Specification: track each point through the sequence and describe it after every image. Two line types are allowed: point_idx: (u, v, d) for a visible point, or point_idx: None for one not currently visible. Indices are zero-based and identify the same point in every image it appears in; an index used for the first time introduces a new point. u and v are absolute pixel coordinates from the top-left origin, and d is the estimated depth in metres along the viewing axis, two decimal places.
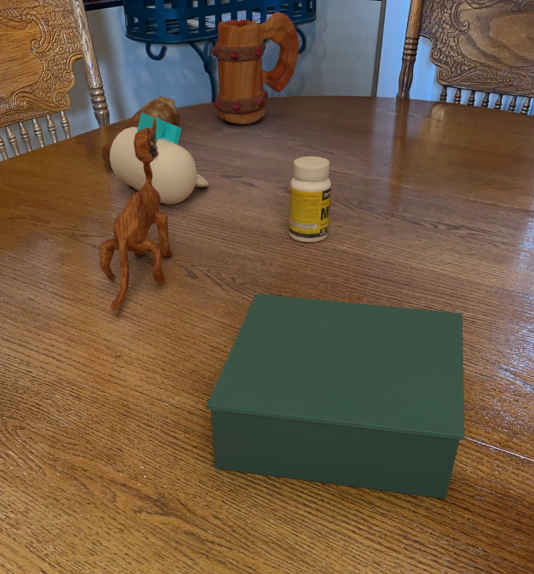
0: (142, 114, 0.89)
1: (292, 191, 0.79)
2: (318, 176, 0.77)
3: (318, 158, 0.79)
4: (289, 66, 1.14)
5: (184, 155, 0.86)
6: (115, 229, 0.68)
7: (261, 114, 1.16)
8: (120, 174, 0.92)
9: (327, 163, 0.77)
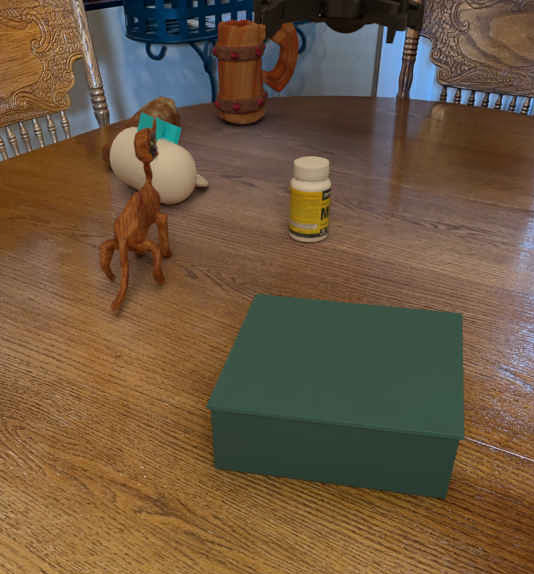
0: (142, 114, 0.89)
1: (292, 191, 0.79)
2: (319, 176, 0.77)
3: (318, 158, 0.79)
4: (289, 66, 1.14)
5: (184, 155, 0.86)
6: (115, 229, 0.68)
7: (261, 114, 1.16)
8: (120, 174, 0.92)
9: (327, 163, 0.77)
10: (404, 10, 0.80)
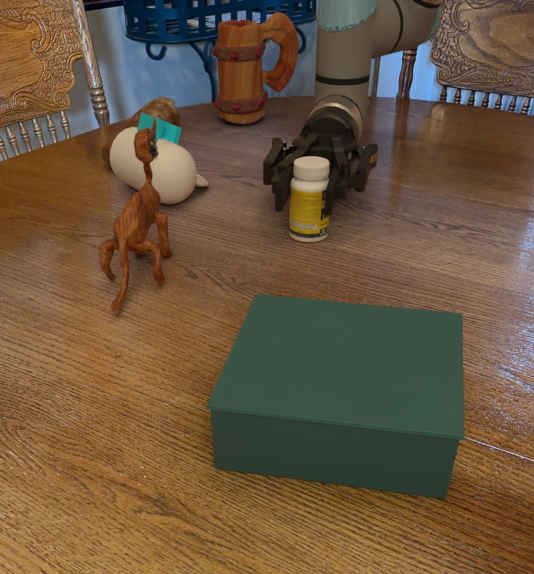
0: (142, 114, 0.89)
1: (291, 191, 0.79)
2: (318, 176, 0.77)
3: (318, 158, 0.79)
4: (289, 66, 1.14)
5: (184, 155, 0.86)
6: (115, 229, 0.68)
7: (261, 114, 1.16)
8: (120, 174, 0.92)
9: (327, 163, 0.77)
10: (343, 174, 0.79)
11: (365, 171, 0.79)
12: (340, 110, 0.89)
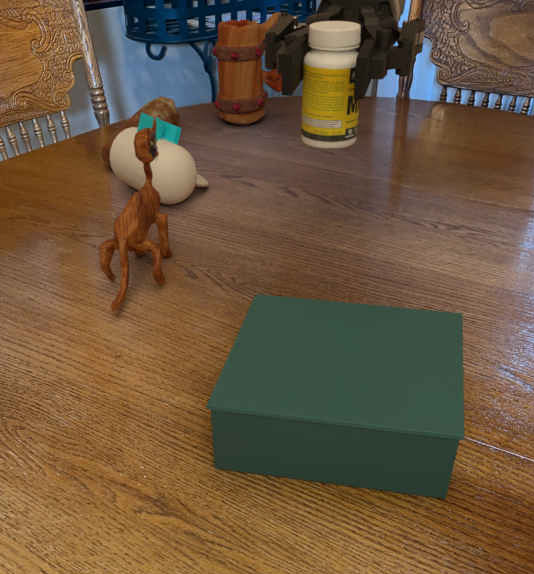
0: (142, 114, 0.89)
1: (306, 71, 0.55)
2: (345, 44, 0.53)
3: (344, 22, 0.54)
4: None
5: (184, 155, 0.86)
6: (115, 229, 0.68)
7: (261, 114, 1.16)
8: (120, 174, 0.92)
9: (358, 26, 0.53)
10: (380, 47, 0.55)
11: (412, 43, 0.55)
12: None
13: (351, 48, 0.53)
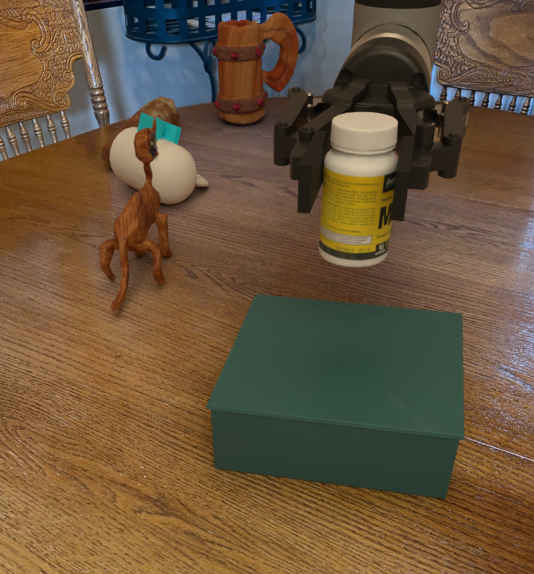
0: (142, 114, 0.89)
1: (327, 176, 0.43)
2: (379, 146, 0.41)
3: (376, 115, 0.43)
4: (289, 66, 1.14)
5: (184, 155, 0.86)
6: (115, 229, 0.68)
7: (261, 114, 1.16)
8: (120, 174, 0.92)
9: (394, 123, 0.41)
10: (420, 146, 0.43)
11: (461, 140, 0.44)
12: (402, 43, 0.53)
13: (386, 151, 0.42)
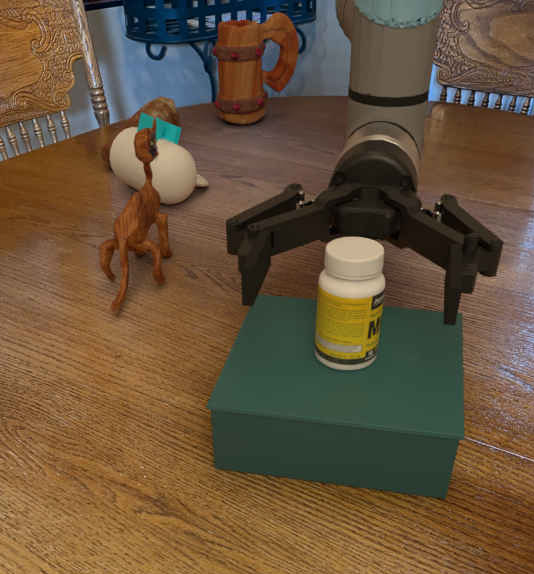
0: (142, 114, 0.89)
1: (321, 295, 0.48)
2: (367, 273, 0.46)
3: (365, 241, 0.48)
4: (289, 66, 1.14)
5: (184, 155, 0.86)
6: (115, 229, 0.68)
7: (261, 114, 1.16)
8: (120, 174, 0.92)
9: (381, 251, 0.47)
10: (470, 252, 0.49)
11: (502, 244, 0.50)
12: (391, 147, 0.58)
13: (373, 276, 0.47)
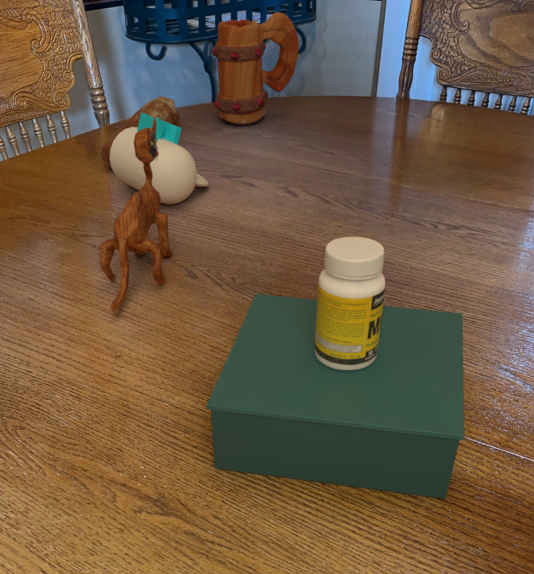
0: (142, 114, 0.89)
1: (321, 295, 0.48)
2: (367, 273, 0.46)
3: (365, 241, 0.48)
4: (289, 66, 1.14)
5: (184, 155, 0.86)
6: (115, 229, 0.68)
7: (261, 114, 1.16)
8: (120, 174, 0.92)
9: (381, 251, 0.47)
10: None
11: None
12: None
13: (373, 276, 0.47)
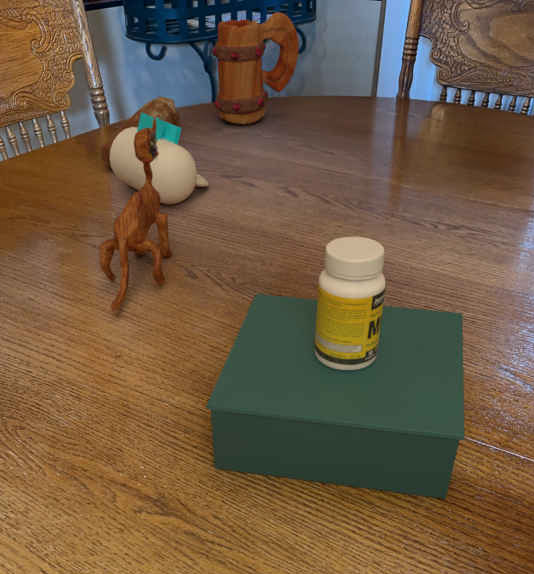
0: (142, 114, 0.89)
1: (321, 294, 0.48)
2: (367, 273, 0.46)
3: (365, 241, 0.48)
4: (289, 66, 1.14)
5: (184, 155, 0.86)
6: (115, 229, 0.68)
7: (261, 114, 1.16)
8: (120, 174, 0.92)
9: (381, 251, 0.47)
10: None
11: None
12: None
13: (374, 276, 0.47)
